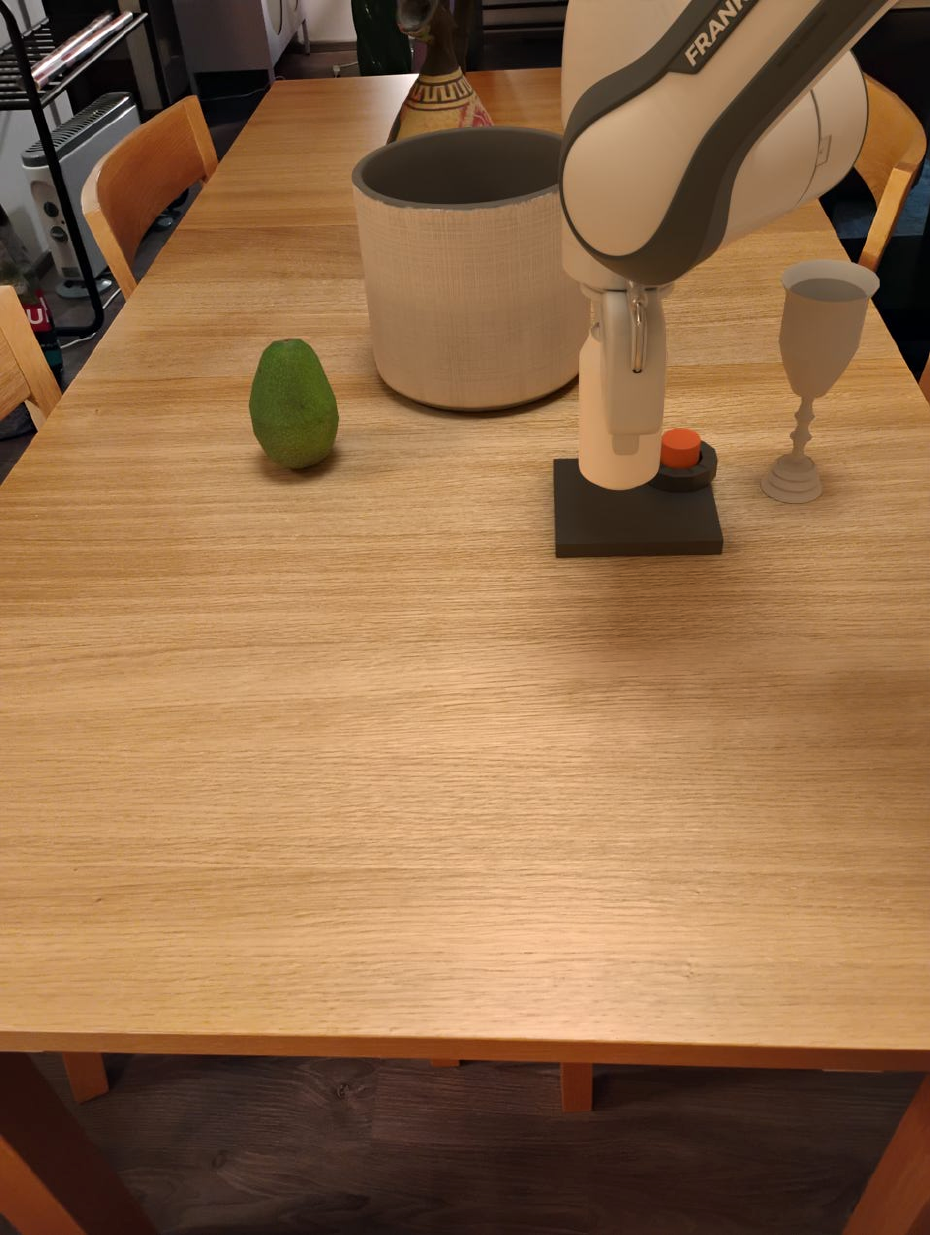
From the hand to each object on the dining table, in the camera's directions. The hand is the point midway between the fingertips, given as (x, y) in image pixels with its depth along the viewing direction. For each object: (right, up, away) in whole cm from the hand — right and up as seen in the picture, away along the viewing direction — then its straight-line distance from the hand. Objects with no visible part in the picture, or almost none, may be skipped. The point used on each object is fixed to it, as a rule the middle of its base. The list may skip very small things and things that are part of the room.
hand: (621, 421), depth 74 cm
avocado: (-27, 0, +18) cm, 32 cm away
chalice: (+16, -4, +10) cm, 19 cm away
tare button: (+6, -1, +9) cm, 11 cm away
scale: (+2, -6, +9) cm, 11 cm away
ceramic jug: (-13, +33, +53) cm, 64 cm away
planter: (-10, +11, +29) cm, 33 cm away
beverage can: (0, -4, +3) cm, 5 cm away
